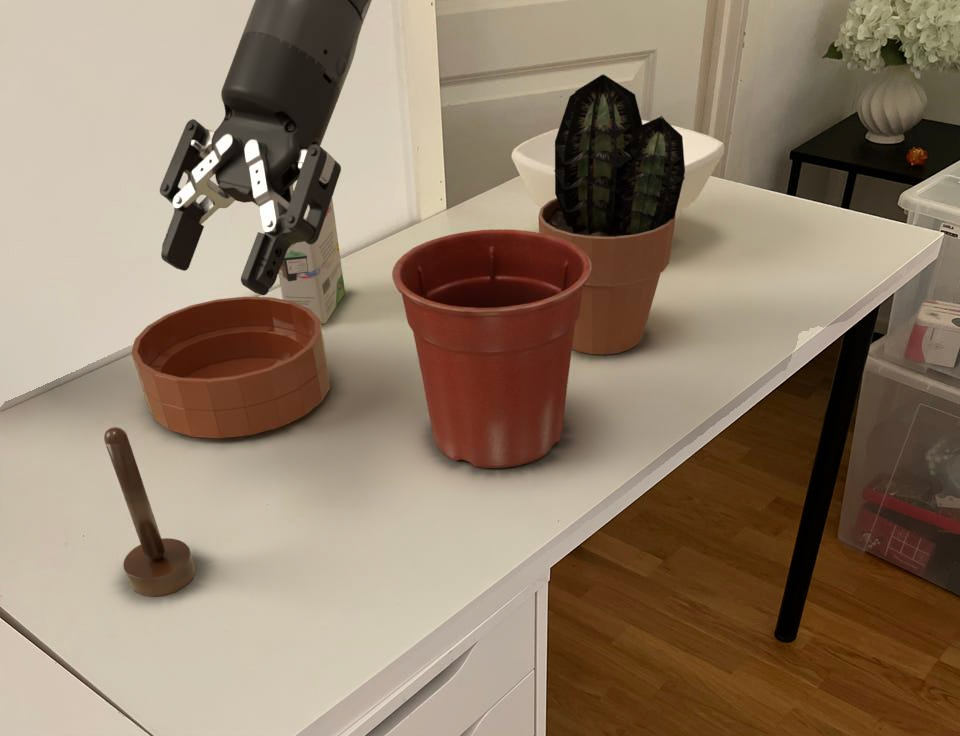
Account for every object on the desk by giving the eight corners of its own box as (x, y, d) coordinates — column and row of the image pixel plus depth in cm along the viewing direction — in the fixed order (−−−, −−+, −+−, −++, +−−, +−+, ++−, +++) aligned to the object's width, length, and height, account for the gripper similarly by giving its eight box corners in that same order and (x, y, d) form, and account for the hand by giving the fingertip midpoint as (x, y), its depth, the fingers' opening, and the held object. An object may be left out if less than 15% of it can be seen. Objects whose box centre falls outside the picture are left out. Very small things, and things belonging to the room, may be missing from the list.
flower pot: (530, 504, 83) (529, 325, 72) (375, 455, 89) (352, 285, 78) (614, 416, 93) (624, 247, 82) (469, 378, 99) (460, 218, 88)
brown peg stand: (117, 576, 78) (61, 430, 69) (174, 547, 80) (127, 402, 71) (150, 605, 75) (96, 456, 66) (208, 574, 77) (163, 427, 68)
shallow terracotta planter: (117, 400, 99) (97, 340, 95) (263, 338, 108) (252, 281, 104) (214, 465, 89) (197, 401, 85) (366, 392, 98) (358, 331, 94)
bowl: (606, 201, 136) (610, 109, 128) (736, 240, 123) (749, 141, 115) (490, 246, 125) (487, 150, 117) (620, 294, 113) (626, 190, 105)
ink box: (307, 292, 117) (290, 190, 109) (347, 293, 116) (332, 191, 108) (285, 323, 111) (265, 217, 103) (326, 325, 110) (309, 218, 102)
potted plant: (567, 376, 99) (573, 105, 82) (520, 322, 108) (516, 70, 91) (687, 351, 102) (717, 85, 85) (631, 301, 111) (647, 53, 94)
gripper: (188, 18, 69) (109, 235, 71) (336, 37, 63) (245, 275, 64) (257, 83, 76) (183, 280, 77) (396, 106, 69) (313, 320, 71)
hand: (212, 277), depth 71 cm, fingers open, 8 cm apart
